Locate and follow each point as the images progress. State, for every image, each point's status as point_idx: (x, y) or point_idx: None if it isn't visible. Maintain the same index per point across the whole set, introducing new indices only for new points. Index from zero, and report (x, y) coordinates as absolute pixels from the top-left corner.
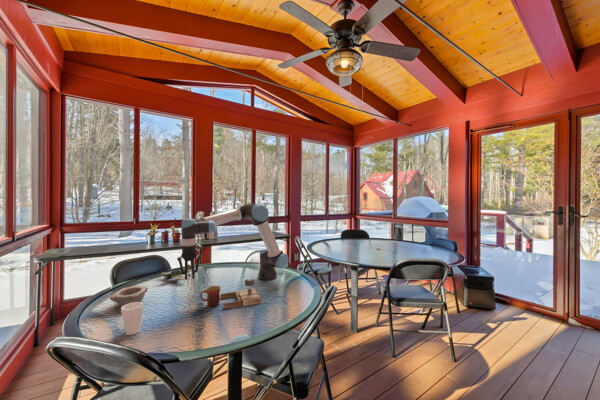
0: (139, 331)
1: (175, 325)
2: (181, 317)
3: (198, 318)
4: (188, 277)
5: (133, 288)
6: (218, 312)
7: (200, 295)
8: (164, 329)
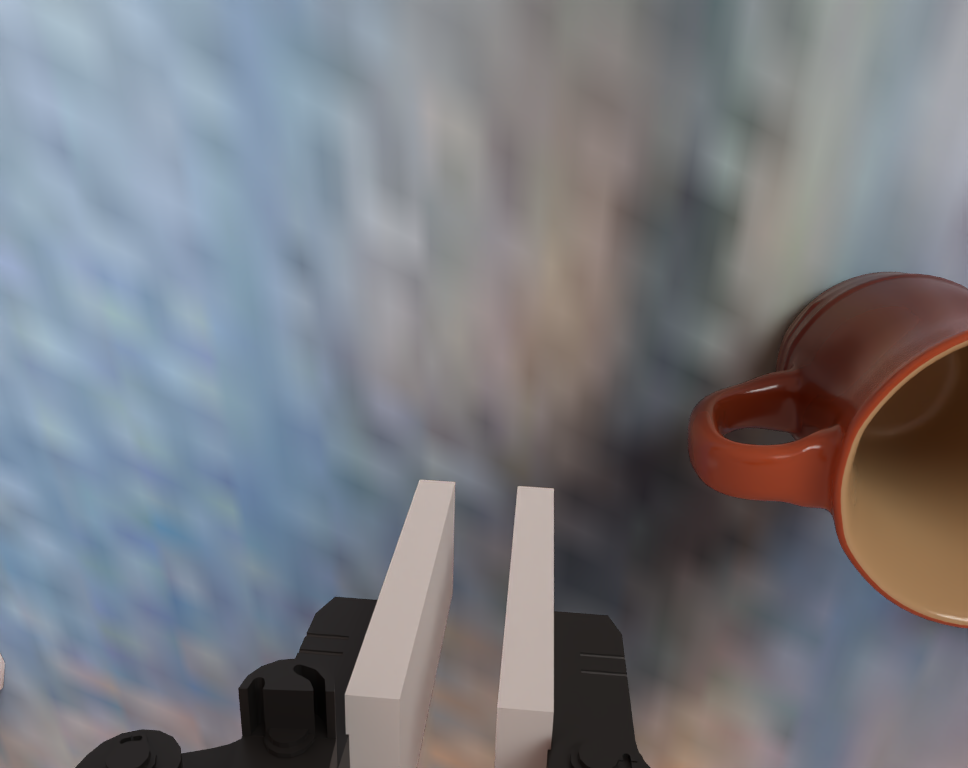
0: (3, 682)
1: None
2: None
3: None
4: (417, 761)
5: None
6: (856, 637)
7: (693, 466)
8: None
